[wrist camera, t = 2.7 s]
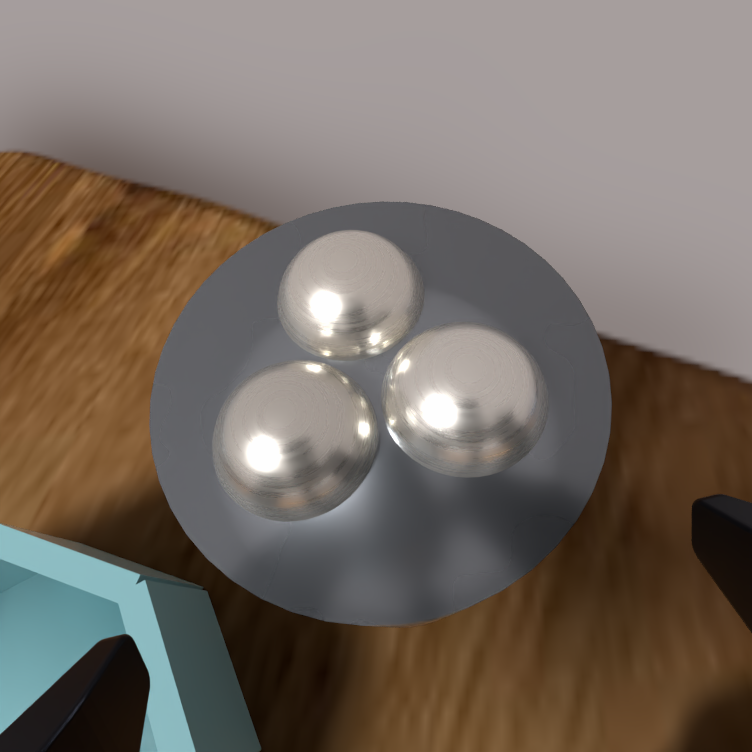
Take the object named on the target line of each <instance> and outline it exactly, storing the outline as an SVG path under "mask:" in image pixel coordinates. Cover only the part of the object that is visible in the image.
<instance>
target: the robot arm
mask: <svg viewBox="0 0 752 752" xmlns="http://www.w3.org/2000/svg"><path fill="white" fill-rule="evenodd" d="M692 546H693V549H694V552H695V554H696V556H697V558H698V559H699V561H700V562H701V563H702V565H703V566H704V568H705V569H706V570H707V572H708V573H709V574H710V576H711V577H712V579H713V580H714V581H715V583H716V584H717V586H718V587H719V588H720V590H721V591H722V592H723V594H724V595H725V597H726V598H727V599H728V601H729V602H730V604H731V605H732V606H733V608H734V609H735V611H736V612H737V613H738V615H739V616H740V617H741V619H742V620H743V622H744V623H745V624H746V626H747V627H748V629H749V630H750V631H751V633H752V503H750V502H746V501H743V500H740V499H737V498H733V497H730V496H727V495H723V494H716V495H712V496H708V497H703V498H699V499H697V500H695V501H694V503H693V505H692ZM149 692H150V676H149V672H148V669H147V667H146V665H145V663H144V660H143V658H142V656H141V654H140V652H139V650H138V648H137V645H136V643H135V641H134V639H133V638H132V637H131V636H130V635H128V634H121V635H117V636H113V637H108V638H105V639H102V640H100V641H99V642H97V643H96V644H95V645H94V646H93V647H92V648H91V649H90V650H89V651H88V652H87V653H86V654H85V655H83V656H82V657H81V658H80V659H79V660H78V661H77V662H76V663H75V664H74V665H73V666H72V667H71V668H70V669H69V670H68V671H67V672H66V673H64V674H63V675H62V676H61V677H60V678H59V679H58V680H57V681H56V682H55V683H54V684H53V685H52V686H51V687H50V688H49V689H48V690H46V691H45V692H44V693H43V694H42V695H41V696H40V697H39V698H38V699H37V700H36V701H35V702H34V703H33V704H32V705H31V706H30V707H28V708H27V709H26V710H25V711H24V712H23V713H22V714H21V715H20V716H19V717H18V718H17V719H16V720H15V721H14V722H13V723H12V724H11V725H9V726H8V727H7V728H6V729H5V730H4V731H3V732H2V733H1V734H0V752H140V747H141V741H142V735H143V729H144V723H145V716H146V710H147V704H148V698H149Z"/></svg>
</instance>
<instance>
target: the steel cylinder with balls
mask: <svg viewBox="0 0 752 752" xmlns="http://www.w3.org/2000/svg"><path fill="white" fill-rule="evenodd" d="M611 409H612V400H611V389H610V378H609V372H608V368H607V364H606V360H605V356H604V352H603V348H602V345H601V343H600V340H599V338H598V335H597V333H596V330H595V328H594V325H593V323H592V321H591V319H590V318H589V316H588V314H587V312H586V310H585V309H584V307H583V305H582V303H581V302H580V300H579V299H578V297H577V296H576V294H575V293H574V292H573V291H572V289H571V288H570V287H569V285H568V284H567V283H566V282H565V280H564V279H563V278H562V277H561V276H560V275H559V274H558V273H557V272H556V271H555V270H554V269H553V268H552V266H551V265H549V264H548V263H547V262H546V260H544V259H543V258H542V257H541V256H539V255H538V254H537V253H536V252H534V251H533V250H532V249H531V248H529V247H528V246H527V245H526V244H524V243H523V242H521V241H519V240H518V239H516V238H515V237H513V236H511V235H510V234H508V233H506V232H505V231H503V230H501V229H499V228H497V227H495V226H493V225H491V224H489V223H486V222H484V221H482V220H480V219H477V218H474V217H471V216H468V215H465V214H463V213H460V212H457V211H453V210H449V209H444V208H440V207H436V206H431V205H424V204H416V203H408V202H372V203H358V204H352V205H346V206H340V207H335V208H331V209H326V210H323V211H319V212H316V213H312V214H308V215H306V216H303V217H301V218H298V219H296V220H293V221H290V222H288V223H285V224H283V225H281V226H279V227H277V228H275V229H273V230H271V231H269V232H267V233H265V234H263V235H262V236H260V237H259V238H257V239H255V240H254V241H252V242H251V243H249V244H248V245H246V246H245V247H243V248H242V249H240V250H239V251H238V252H237V253H235V254H234V255H233V256H232V257H230V258H229V259H228V260H227V261H225V262H224V263H223V264H222V265H221V266H220V267H219V268H218V269H217V270H216V271H215V272H214V273H213V274H212V275H211V276H210V277H209V278H208V279H207V280H206V281H205V282H204V283H203V284H202V285H201V286H200V288H199V289H198V290H197V291H196V293H195V294H194V295H193V296H192V298H191V299H190V300H189V301H188V303H187V305H186V306H185V308H184V309H183V311H182V313H181V314H180V316H179V317H178V319H177V321H176V322H175V324H174V326H173V328H172V330H171V332H170V334H169V337H168V339H167V341H166V343H165V345H164V347H163V350H162V353H161V357H160V360H159V363H158V366H157V369H156V372H155V377H154V383H153V389H152V394H151V402H150V436H151V445H152V454H153V458H154V462H155V466H156V470H157V474H158V478H159V482H160V484H161V487H162V489H163V491H164V494H165V496H166V499H167V501H168V503H169V506H170V508H171V510H172V512H173V513H174V515H175V516H176V518H177V520H178V521H179V523H180V525H181V526H182V528H183V530H184V531H185V533H186V534H187V536H188V537H189V538H190V539H191V540H192V542H193V543H194V544H195V545H196V546H197V548H198V549H199V550H200V551H201V552H202V553H203V555H204V556H205V557H206V558H207V559H208V560H209V561H210V562H211V563H212V564H214V565H215V566H216V567H217V568H218V569H219V570H221V571H222V572H223V573H224V574H225V575H226V576H227V577H229V578H230V579H231V580H232V581H234V582H235V583H237V584H239V585H240V586H242V587H243V588H245V589H246V590H248V591H250V592H251V593H253V594H254V595H256V596H257V597H259V598H261V599H263V600H265V601H268V602H270V603H272V604H275V605H277V606H279V607H281V608H284V609H286V610H288V611H291V612H293V613H297V614H301V615H305V616H308V617H312V618H316V619H319V620H323V621H327V622H336V623H344V624H353V625H361V626H379V627H398V628H403V627H416V626H422V625H426V624H429V623H432V622H435V621H438V620H440V619H442V618H445V617H447V616H449V615H452V614H454V613H456V612H459V611H461V610H463V609H466V608H468V607H470V606H472V605H474V604H476V603H478V602H480V601H482V600H484V599H486V598H488V597H490V596H492V595H494V594H496V593H498V592H500V591H502V590H504V589H505V588H507V587H508V586H509V585H511V584H512V583H514V582H515V581H517V580H518V579H520V578H521V577H522V576H524V575H525V574H527V573H528V572H530V571H531V570H532V569H533V568H534V567H535V566H536V565H537V564H538V563H539V562H541V561H542V560H543V559H544V558H545V557H546V556H547V555H548V554H549V553H550V552H551V551H552V550H553V549H554V548H555V547H556V546H557V545H558V544H559V542H560V541H561V540H562V539H563V537H564V536H565V535H566V534H567V532H568V531H569V530H570V528H571V527H572V526H573V525H574V523H575V522H576V521H577V519H578V517H579V516H580V514H581V512H582V510H583V508H584V507H585V505H586V503H587V501H588V500H589V498H590V496H591V494H592V492H593V490H594V488H595V485H596V482H597V480H598V477H599V474H600V472H601V469H602V466H603V464H604V460H605V455H606V450H607V445H608V441H609V436H610V427H611Z"/></svg>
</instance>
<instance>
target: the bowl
mask: <svg viewBox="0 0 752 752" xmlns="http://www.w3.org/2000/svg"><path fill="white" fill-rule="evenodd" d="M202 589H203V587H202V586H199V585H197V584H194V583H191V582H188V581H185V580H182V579H180V578H177V577H174V576H171V575H168V574H166V573H163V572H160V571H157V570H154V569H152V568H149V567H146V566H143V565H140V564H138V563H135V562H132V561H129V560H126V559H123V558H121V557H118V556H115V555H112V554H109V553H107V552H104V551H101V550H98V549H95V548H93V547H90V546H87V545H84V544H81V543H78V542H74V541H70V540H66V539H62V538H58V537H54V536H50V535H46V534H42V533H38V532H34V531H30V530H27V529H23V528H19V527H15V526H11V525H7V524H3V523H0V734H1V733H2V732H3V731H4V730H5V729H6V728H7V727H8V726H9V725H11V724H12V723H13V722H14V721H15V720H16V719H17V718H18V717H19V716H20V715H21V714H22V713H23V712H24V711H25V710H26V709H27V708H28V707H30V706H31V705H32V704H33V703H34V702H35V701H36V700H37V699H38V698H39V697H40V696H41V695H42V694H43V693H44V692H45V691H46V690H48V689H49V688H50V687H51V686H52V685H53V684H54V683H55V682H56V681H57V680H58V679H59V678H60V677H61V676H62V675H63V674H64V673H66V672H67V671H68V670H69V669H70V668H71V667H72V666H73V665H74V664H75V663H76V662H77V661H78V660H79V659H80V658H81V657H82V656H83V655H85V654H86V653H87V652H88V651H89V650H90V649H91V648H92V647H93V646H94V645H95V644H96V643H97V642H99V641H100V640H102V639H105V638H108V637H113V636H117V635H121V634H128V635H130V636H131V637H132V638H133V639H134V641H135V643H136V645H137V648H138V650H139V652H140V654H141V656H142V658H143V660H144V663H145V665H146V667H147V669H148V672H149V676H150V692H149V698H148V704H147V710H146V716H145V723H144V729H143V735H142V741H141V747H140V752H259V751H260V750H261V746H260V743H259V740H258V738H257V735H256V732H255V729H254V726H253V723H252V720H251V717H250V714H249V711H248V708H247V706H246V703H245V700H244V697H243V694H242V691H241V688H240V685H239V682H238V679H237V676H236V673H235V671H234V668H233V665H232V662H231V659H230V656H229V653H228V650H227V647H226V644H225V641H224V639H223V636H222V633H221V630H220V627H219V624H218V621H217V618H216V615H215V612H214V609H213V606H212V604H211V601H210V598H209V595H208V592H207V591H205V590H202Z"/></svg>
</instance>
